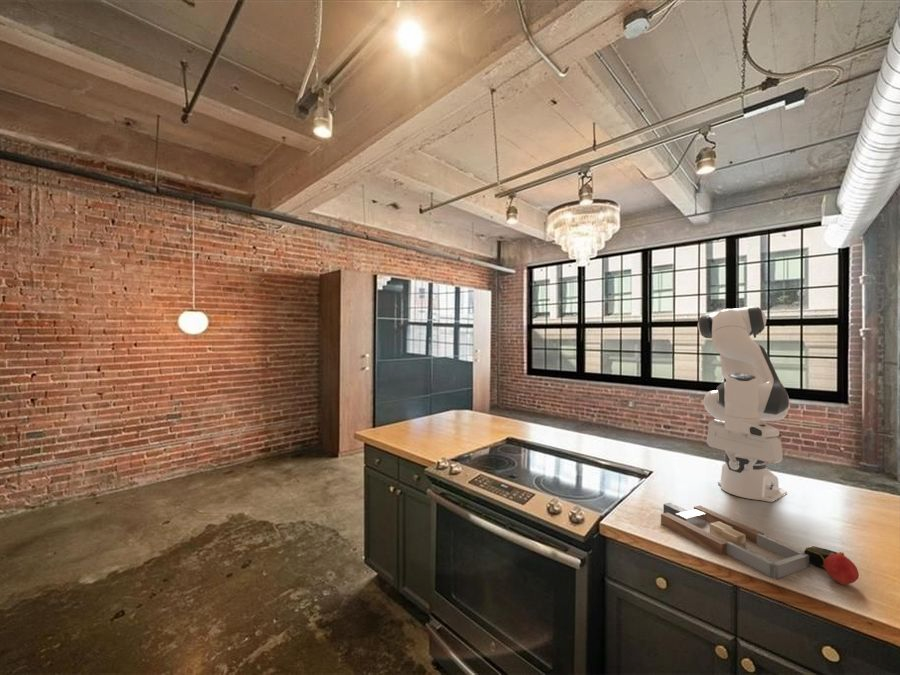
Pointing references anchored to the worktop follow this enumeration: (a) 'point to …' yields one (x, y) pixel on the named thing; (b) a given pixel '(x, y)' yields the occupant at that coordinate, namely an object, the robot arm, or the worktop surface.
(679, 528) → the slot rails
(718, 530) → the tan wooden cube
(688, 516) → the grey t-shaped block
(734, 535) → the chip
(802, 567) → the tray
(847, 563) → the onion
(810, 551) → the tape measure
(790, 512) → the worktop surface
